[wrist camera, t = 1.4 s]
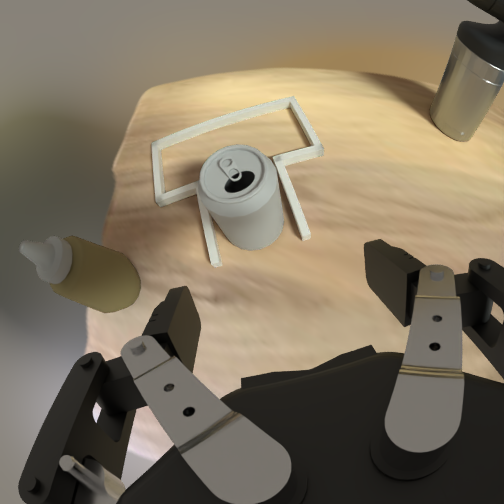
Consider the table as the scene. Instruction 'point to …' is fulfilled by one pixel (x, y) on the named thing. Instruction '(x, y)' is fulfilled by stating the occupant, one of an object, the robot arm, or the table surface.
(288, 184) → the t outline
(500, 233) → the table surface
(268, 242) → the can
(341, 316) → the table surface
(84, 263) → the squeeze bottle
